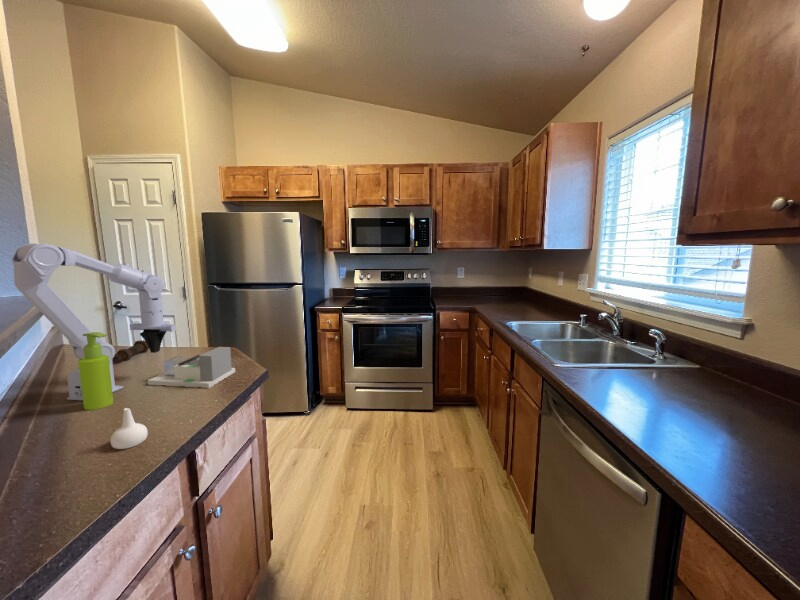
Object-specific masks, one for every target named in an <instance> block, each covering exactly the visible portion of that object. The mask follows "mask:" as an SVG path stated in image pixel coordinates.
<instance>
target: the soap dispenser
mask: <svg viewBox="0 0 800 600" xmlns="http://www.w3.org/2000/svg"><path fill="white" fill-rule="evenodd" d="M83 336H87V343H88V344H87V345H86V346H84V347H83V348H84V356H85V358H82V359H78V361H77V362H78V364H79V371H80V380H81V388H82V396H83V400H82V403H83V409H84V410H86V411H94V410H99V409H102V408H103V409H104V408H107V407H108V406H110V405H112V404H114V394H113V393H114V392H112V383H111V374H110V365H109V356H107V355H102V350H101V344H98V343H96V337H97V338H100V339H101V338H104V337H106V336H107V334H106V333H104V332H100V331H99V332H94V331H93V332H92V331H91V332H90V333H86V334H83Z"/></svg>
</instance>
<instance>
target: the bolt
mask: <svg viewBox="0 0 800 600" xmlns="http://www.w3.org/2000/svg"><path fill="white" fill-rule="evenodd" d="M149 350H150V349H149V347H148V345H147V343H146V341H145V340H136V341H135V342H134V343H133V346H130V347H128V348H121V349H118V351H117V352H116V353H115V355H114V357H113V359H112V362H113V363H116V364H119V363H121V362H128V361H130V360H131V359H132V356H135V355H137V354H146V353H147V352H148V351H149Z"/></svg>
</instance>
